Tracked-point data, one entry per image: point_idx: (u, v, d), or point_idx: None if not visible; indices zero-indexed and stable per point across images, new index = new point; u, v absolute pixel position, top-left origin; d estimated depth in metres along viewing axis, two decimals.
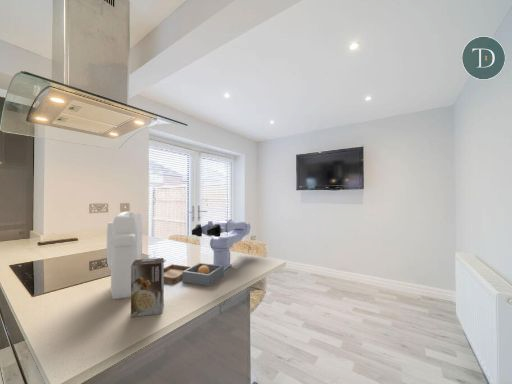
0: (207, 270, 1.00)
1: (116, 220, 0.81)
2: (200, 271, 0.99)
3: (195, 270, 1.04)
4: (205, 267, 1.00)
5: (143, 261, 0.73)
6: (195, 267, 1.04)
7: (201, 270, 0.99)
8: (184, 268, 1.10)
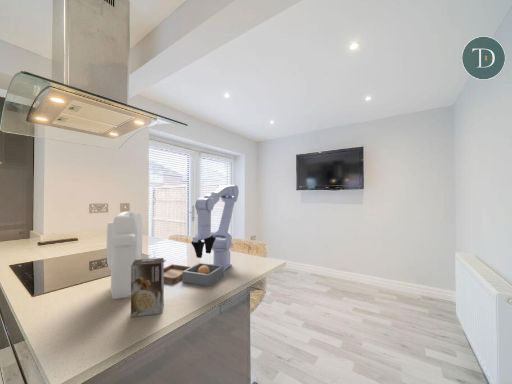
0: (207, 270, 1.00)
1: (116, 220, 0.81)
2: (200, 271, 0.99)
3: (195, 270, 1.04)
4: (205, 267, 1.00)
5: (143, 261, 0.73)
6: (195, 267, 1.04)
7: (201, 270, 0.99)
8: (184, 268, 1.10)
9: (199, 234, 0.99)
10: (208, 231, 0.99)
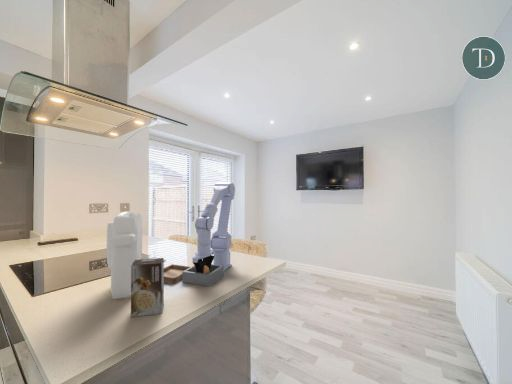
0: (207, 270, 1.00)
1: (116, 220, 0.81)
2: None
3: (195, 270, 1.04)
4: (205, 267, 1.00)
5: (143, 261, 0.73)
6: None
7: None
8: (184, 268, 1.10)
9: (199, 253, 0.99)
10: (208, 250, 0.99)
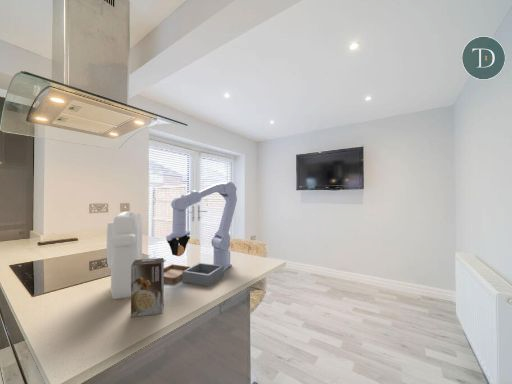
0: (182, 249, 1.02)
1: (116, 220, 0.81)
2: None
3: (195, 270, 1.04)
4: (180, 246, 1.02)
5: (143, 261, 0.73)
6: (195, 267, 1.04)
7: None
8: (184, 268, 1.10)
9: (173, 233, 1.01)
10: (182, 230, 1.02)
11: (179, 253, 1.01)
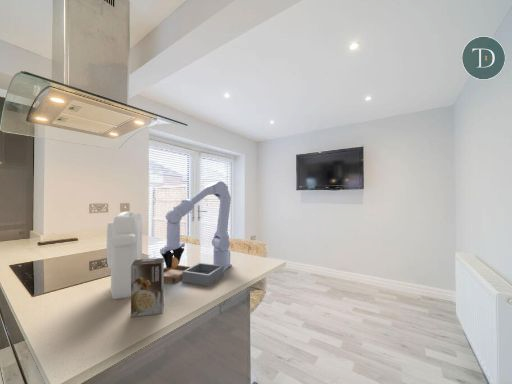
0: (176, 262, 1.02)
1: (116, 220, 0.81)
2: None
3: (195, 270, 1.04)
4: (174, 259, 1.03)
5: (143, 261, 0.73)
6: (195, 267, 1.04)
7: None
8: (184, 268, 1.10)
9: (167, 245, 1.01)
10: (176, 242, 1.02)
11: (173, 266, 1.02)
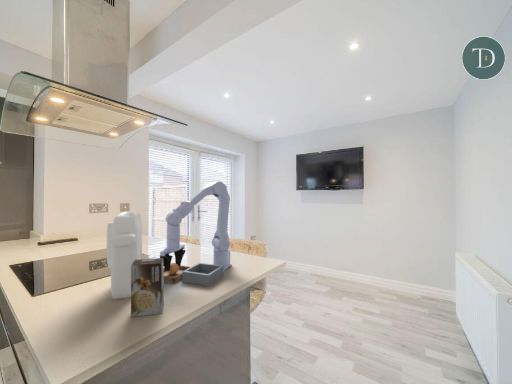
0: (176, 267, 1.03)
1: (116, 220, 0.81)
2: None
3: (195, 270, 1.04)
4: (174, 265, 1.03)
5: (143, 261, 0.73)
6: (195, 267, 1.04)
7: (170, 267, 1.02)
8: (184, 268, 1.10)
9: (167, 248, 1.01)
10: (176, 245, 1.02)
11: (173, 271, 1.02)
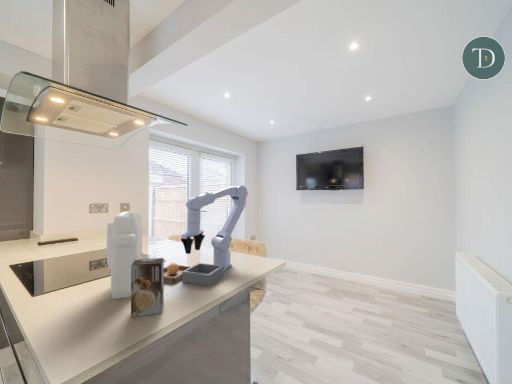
0: (176, 267, 1.03)
1: (116, 220, 0.81)
2: (169, 268, 1.02)
3: (195, 270, 1.04)
4: (174, 264, 1.03)
5: (143, 261, 0.73)
6: (195, 267, 1.04)
7: (170, 267, 1.02)
8: (184, 268, 1.10)
9: (188, 231, 1.05)
10: (197, 229, 1.05)
11: (173, 271, 1.02)
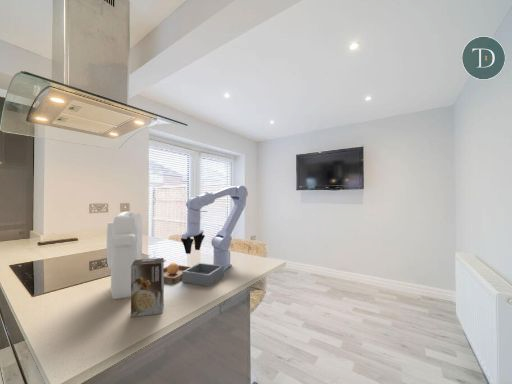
0: (176, 267, 1.03)
1: (116, 220, 0.81)
2: (169, 268, 1.02)
3: (195, 270, 1.04)
4: (174, 264, 1.03)
5: (143, 261, 0.73)
6: (195, 267, 1.04)
7: (170, 267, 1.02)
8: (184, 268, 1.10)
9: (188, 231, 1.05)
10: (197, 229, 1.05)
11: (173, 271, 1.02)
